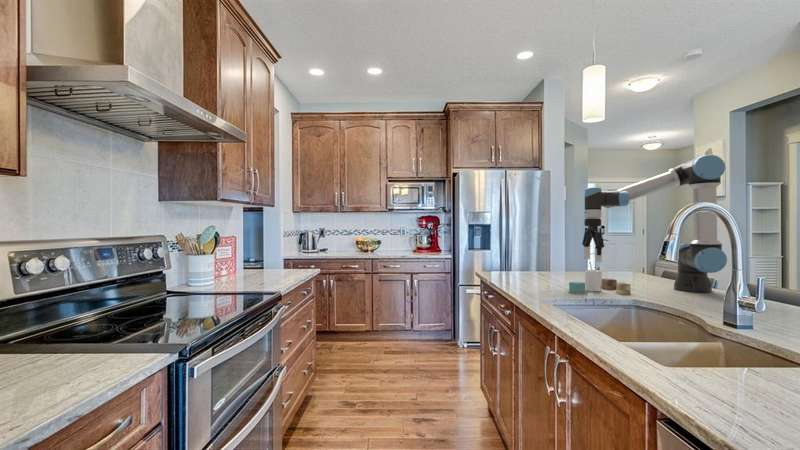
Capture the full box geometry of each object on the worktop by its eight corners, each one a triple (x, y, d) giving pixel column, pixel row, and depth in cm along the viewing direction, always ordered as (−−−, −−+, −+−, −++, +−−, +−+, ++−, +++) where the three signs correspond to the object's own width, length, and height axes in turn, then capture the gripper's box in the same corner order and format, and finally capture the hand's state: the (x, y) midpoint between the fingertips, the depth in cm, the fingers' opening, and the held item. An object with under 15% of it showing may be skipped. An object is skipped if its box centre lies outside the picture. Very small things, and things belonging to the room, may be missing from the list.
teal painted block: (577, 291, 188) (577, 281, 188) (585, 293, 183) (585, 282, 183) (569, 292, 186) (569, 282, 186) (577, 294, 181) (577, 283, 181)
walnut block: (610, 288, 197) (610, 278, 197) (616, 289, 192) (616, 279, 192) (601, 288, 197) (601, 278, 197) (607, 289, 192) (607, 280, 192)
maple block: (628, 292, 183) (628, 282, 183) (630, 294, 178) (630, 284, 178) (616, 292, 185) (616, 282, 185) (618, 294, 180) (618, 283, 180)
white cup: (605, 290, 189) (605, 270, 189) (597, 292, 184) (596, 272, 184) (590, 288, 195) (589, 269, 195) (581, 290, 191) (581, 270, 191)
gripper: (575, 218, 203) (575, 258, 203) (595, 217, 178) (595, 263, 178) (590, 218, 202) (590, 258, 202) (612, 217, 177) (611, 263, 177)
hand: (592, 260), depth 190 cm, fingers open, 13 cm apart
